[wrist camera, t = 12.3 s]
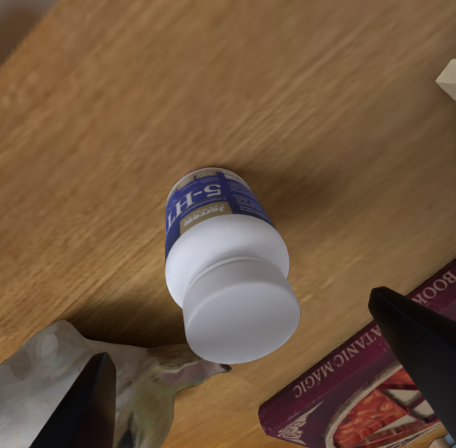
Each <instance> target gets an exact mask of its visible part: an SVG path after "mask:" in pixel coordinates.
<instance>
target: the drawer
mask: <svg viewBox="0 0 456 448" xmlns="http://www.w3.org/2000/svg"><path fill="white" fill-rule="evenodd" d="M435 82H436V83H437V84H438V85H439V86H440V87H441V88H442V89H443V90H444V91H445V92H446V93H447V94H449V95H450V96H451V97H452V98H453V99H454V100H455V101H456V59H451V61H450V62H449V63H448V65H447V66H446V67H445V69H444V70H443V71H442V73H441V74H440V75H439V77H438V78H437V79H436V81H435Z"/></svg>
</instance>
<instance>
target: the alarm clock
mask: <svg viewBox="0 0 456 448" xmlns="http://www.w3.org/2000/svg"><path fill="white" fill-rule="evenodd" d="M429 448H456V443H455V441H454V440H453V438H452V437H451V436H450V434H447V435H446V436H445V437H443V438H438V439H435V440H434V441H433V442H432V444H431V445H430V446H429Z"/></svg>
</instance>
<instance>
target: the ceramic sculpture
mask: <svg viewBox="0 0 456 448" xmlns="http://www.w3.org/2000/svg"><path fill="white" fill-rule="evenodd" d="M102 352H107V353H108V354H109V355H110V357H111V359H112V361H113V363H114V365H115V367H116V372H117V379H116V416H115V431H114V439H113V447H112V448H160V447H161V445H162V444H163V442H164V440H165V439H166V437H167V435H168V433H169V431H170V428H171V425H172V422H173V418H174V403H175V395H176V394H177V392H178V391H179V390H182V389H185V388H188V387H194V386H197V385H199V384H201V383H203V382H204V381H205V380H207V379H208V378H209V377H210V376H212V375H215V374H219V373H226V372H230V371H232V368H231V367H230V366H229V365H228V364H221V363H215V362H211V361H207V360H205V359H203V358H201V357H200V356H198V355H197V354H195V353H194V352H193V350H192V349H191V348H190V346H189V344H188V343H181V344H173V345H166V346H159V347H153V348H150V349H149V348H143V347H137V346H131V345H123V344H112V343H107V342H101V341H93V340H89V339H86V338H84V337H83V336H82V335H81V334H80V333H79V332H78V331H77V330H76V329H75V327H74V326H73V325H72V324H71V323H69V322H68V321H66V320H60V321H57V322H54V323H52V324H51V325H49V326H48V327H47V328H45V329H43V330H41V331H39V332H38V333H36V334H35V335H34V336H32V337H31V338H30V339H28V340H27V341H26V342H25V343H24V344H23V345H22V346H21V347H20V348H19V349H18V350H17V351H16V352H15V353H14V354H13V355H12V356H11V357H9V358H8V359H7V360H5V361H4V362H3V363H1V364H0V448H29V447H30V445H31V444H32V442H33V441H34V439H35V438H36V436H37V435H38V434H39V432H40V431H41V429H42V428H43V426H44V425H45V423H46V422H47V420H48V419H49V418H50V416H51V415H52V413H53V412H54V410H55V409H56V407H57V406H58V404H59V403H60V402H61V400H62V399H63V397H64V396H65V394H66V393H67V391H68V390H69V388H70V387H71V386H72V384H73V383H74V381H75V380H76V378H77V377H78V375H79V374H80V372H81V371H82V370H83V368H84V367H85V365H86V364H87V362H88V361H89V359H90V358H91V357H92V356H93V355H94V354H97V353H102Z"/></svg>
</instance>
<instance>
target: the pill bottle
mask: <svg viewBox="0 0 456 448" xmlns="http://www.w3.org/2000/svg"><path fill="white" fill-rule="evenodd" d="M165 221H166V229H165V273H166V282H167V286H168V289H169V292H170V294H171V296H172V298H173V299H174V300H175V302H176V303H177V304H178V305H179V306H180V307H181V308H182V309H183V318H184V326H185V335H186V339H187V342H188V344H189V346H190V348H191V349H192V350H193V352H194V353H195V354H197V355H198V356H200V357H201V358H203V359H205V360H207V361H211V362H215V363H221V364H238V363H245V362H249V361H253V360H256V359H259V358H261V357H263V356H266V355H268V354H270V353H271V352H273V351H275V350H276V349H278V348H279V347H280V346H282V345H283V344H284V343H285V342H286V341H287V340H288V339H289V338H290V337H291V336H292V334H293V333H294V331H295V330H296V328H297V326H298V323H299V319H300V306H299V302H298V300H297V298H296V296H295V294H294V292H293V290H292V288H291V286H290V284H289V283H288V281H287V279H286V278H287V275H288V271H289V255H288V251H287V248H286V245H285V243H284V241H283V239H282V238H281V236H280V234H279V232H278V231H277V229H276V228H275V226H274V225H273V223H272V221H271V220H270V218H269V217H268V215H267V214H266V212H265V211H264V209H263V208H262V206H261V204H260V203H259V201H258V200H257V198H256V197H255V195H254V193H253V192H252V190H251V189H250V187H249V186H248V185H247V183H246V182H245V181H244V180H243V179H242V178H241V177H240V176H238V175H237V174H235V173H233V172H231V171H229V170H226V169H222V168H202V169H199V170H196V171H193V172H191V173H189V174H187V175H186V176H184V177H183V178H182V179H180V180H179V181H178V182H177V183H176V184H175V186H174V187H173V188H172V190H171V192H170V194H169V196H168V199H167V203H166V219H165Z"/></svg>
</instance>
